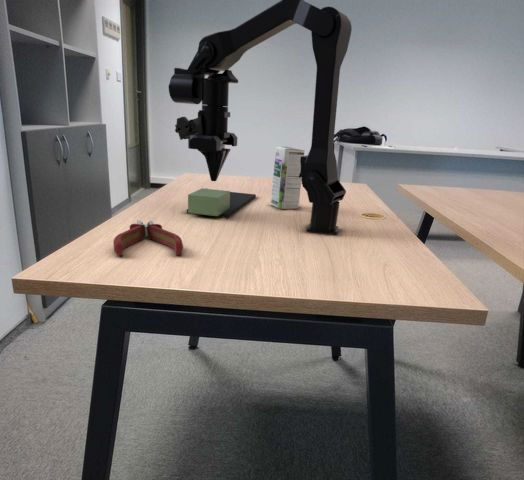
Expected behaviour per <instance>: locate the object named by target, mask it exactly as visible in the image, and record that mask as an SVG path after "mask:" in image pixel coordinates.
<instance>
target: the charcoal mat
mask: <svg viewBox="0 0 524 480" xmlns="http://www.w3.org/2000/svg"><path fill="white" fill-rule="evenodd" d="M256 197H257V194H255V193H245V192H235V191H230V208H229V209H228V210H226V211H225V212H223V213H222V214H220V215H219V216H215V217H216V218H224V219H225V218H227V219H228V218H230V217H232V215H234V214H235V213H237V212H238V211H239V210H241V209H242V208H243V207H245V206H246V205H247V204H249V203H250V202H251V201H253V200H254V199H256ZM186 214H189V215H195V214H194V213H188V208H187V209H186ZM197 215H199V216H204V215H203V214H197ZM206 216H207V217H213V216H212V215H206Z"/></svg>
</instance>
